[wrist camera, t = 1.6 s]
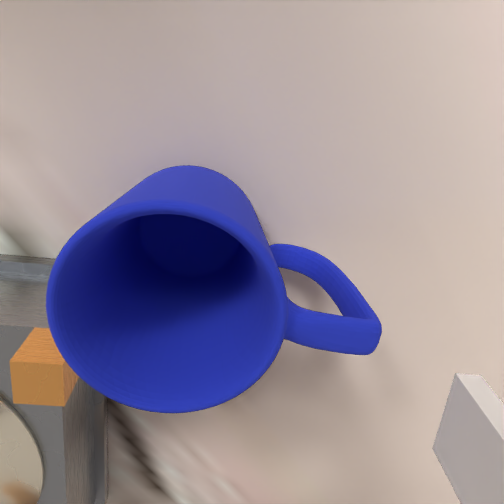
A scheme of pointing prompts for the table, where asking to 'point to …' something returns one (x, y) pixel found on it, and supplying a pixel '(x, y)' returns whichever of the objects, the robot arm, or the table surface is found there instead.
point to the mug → (189, 296)
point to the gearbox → (44, 402)
